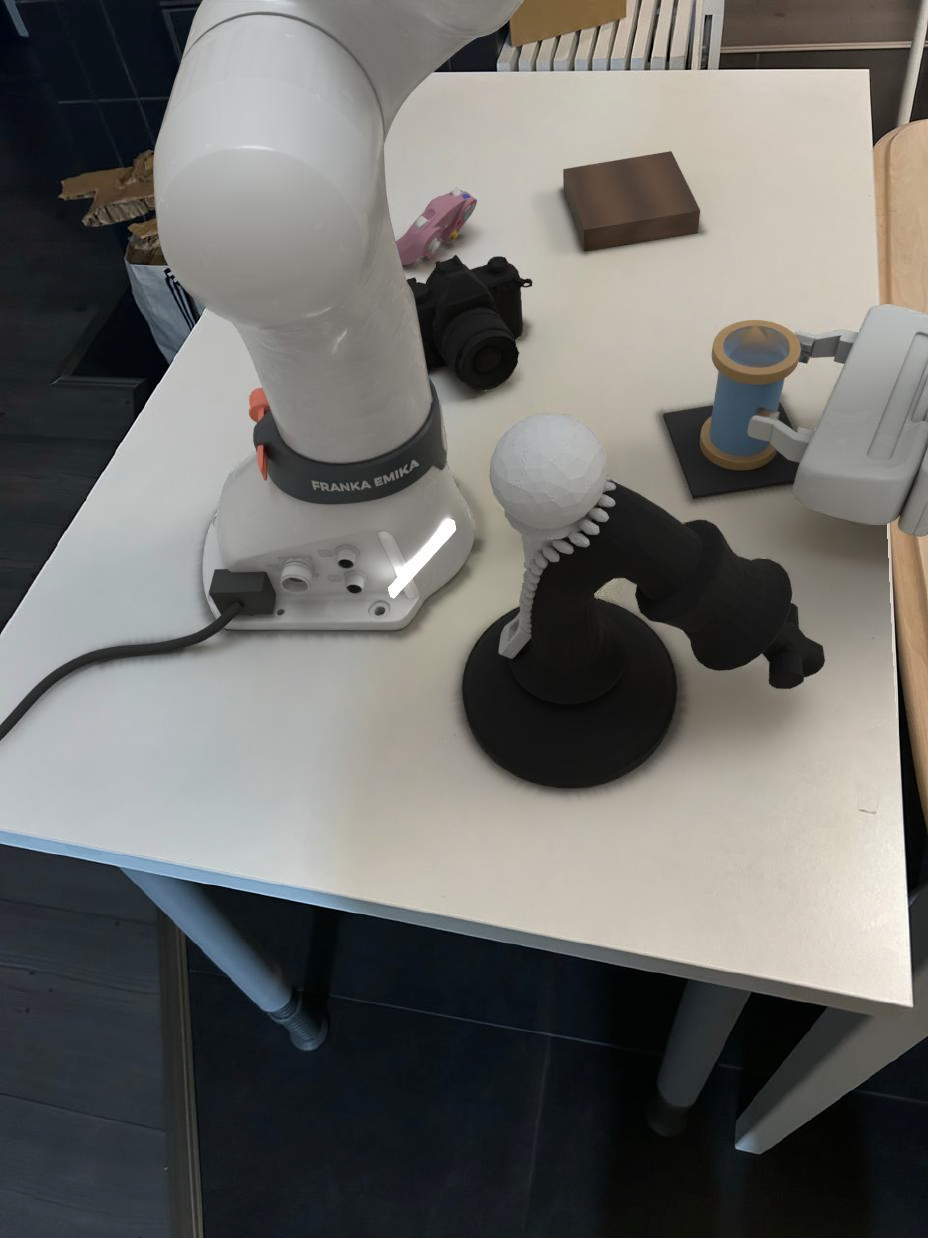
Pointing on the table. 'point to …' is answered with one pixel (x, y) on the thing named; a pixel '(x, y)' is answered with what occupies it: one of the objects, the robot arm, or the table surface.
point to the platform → (630, 201)
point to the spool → (746, 390)
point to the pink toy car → (436, 225)
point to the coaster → (711, 477)
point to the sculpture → (609, 614)
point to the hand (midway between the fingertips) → (770, 381)
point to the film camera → (471, 319)
